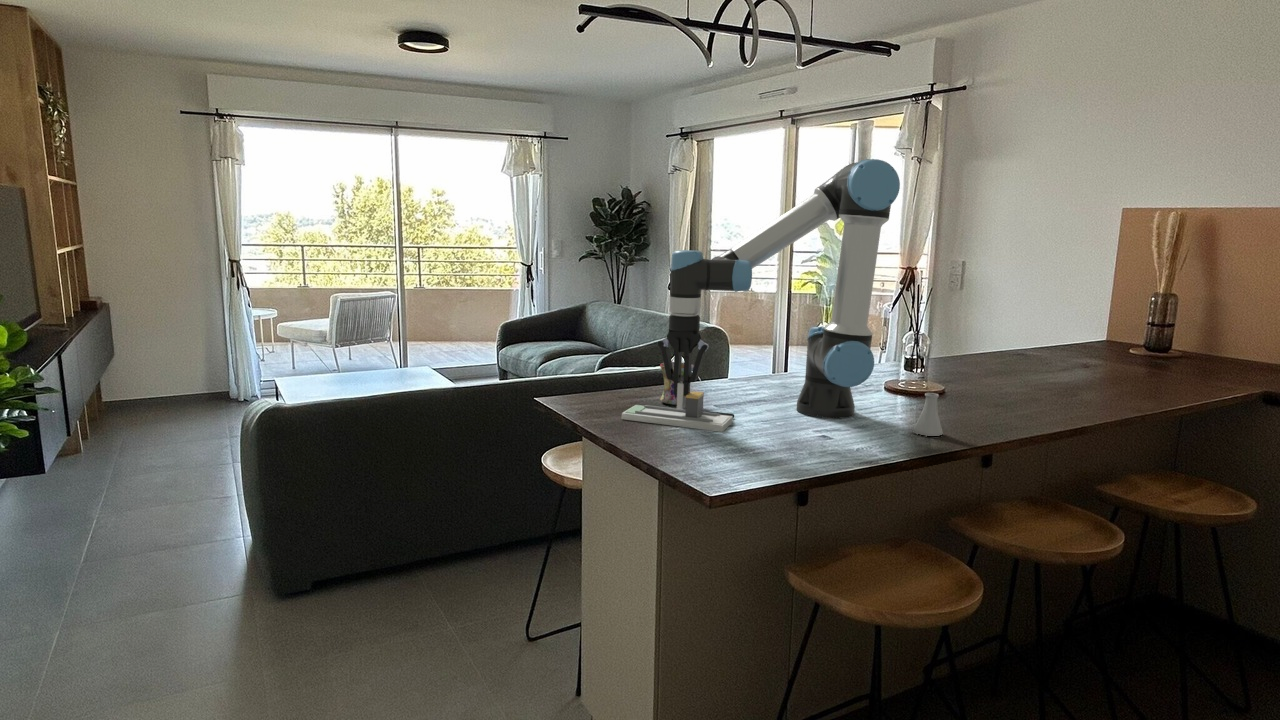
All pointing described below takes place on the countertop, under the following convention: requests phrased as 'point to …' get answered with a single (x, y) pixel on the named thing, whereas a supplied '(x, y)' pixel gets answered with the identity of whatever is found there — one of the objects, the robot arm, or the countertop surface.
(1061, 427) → the countertop surface
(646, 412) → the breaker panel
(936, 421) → the flask
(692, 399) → the block
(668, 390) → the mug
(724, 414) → the cable
